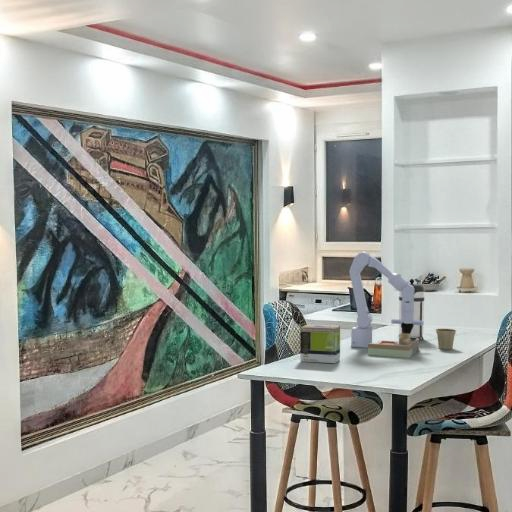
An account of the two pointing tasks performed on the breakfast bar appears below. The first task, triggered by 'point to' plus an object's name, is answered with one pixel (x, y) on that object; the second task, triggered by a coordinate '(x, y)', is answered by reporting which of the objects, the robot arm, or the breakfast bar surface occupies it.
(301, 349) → the tea box
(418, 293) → the coffee press
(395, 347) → the box
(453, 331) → the flower pot
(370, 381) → the breakfast bar surface
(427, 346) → the breakfast bar surface
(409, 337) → the maple block
